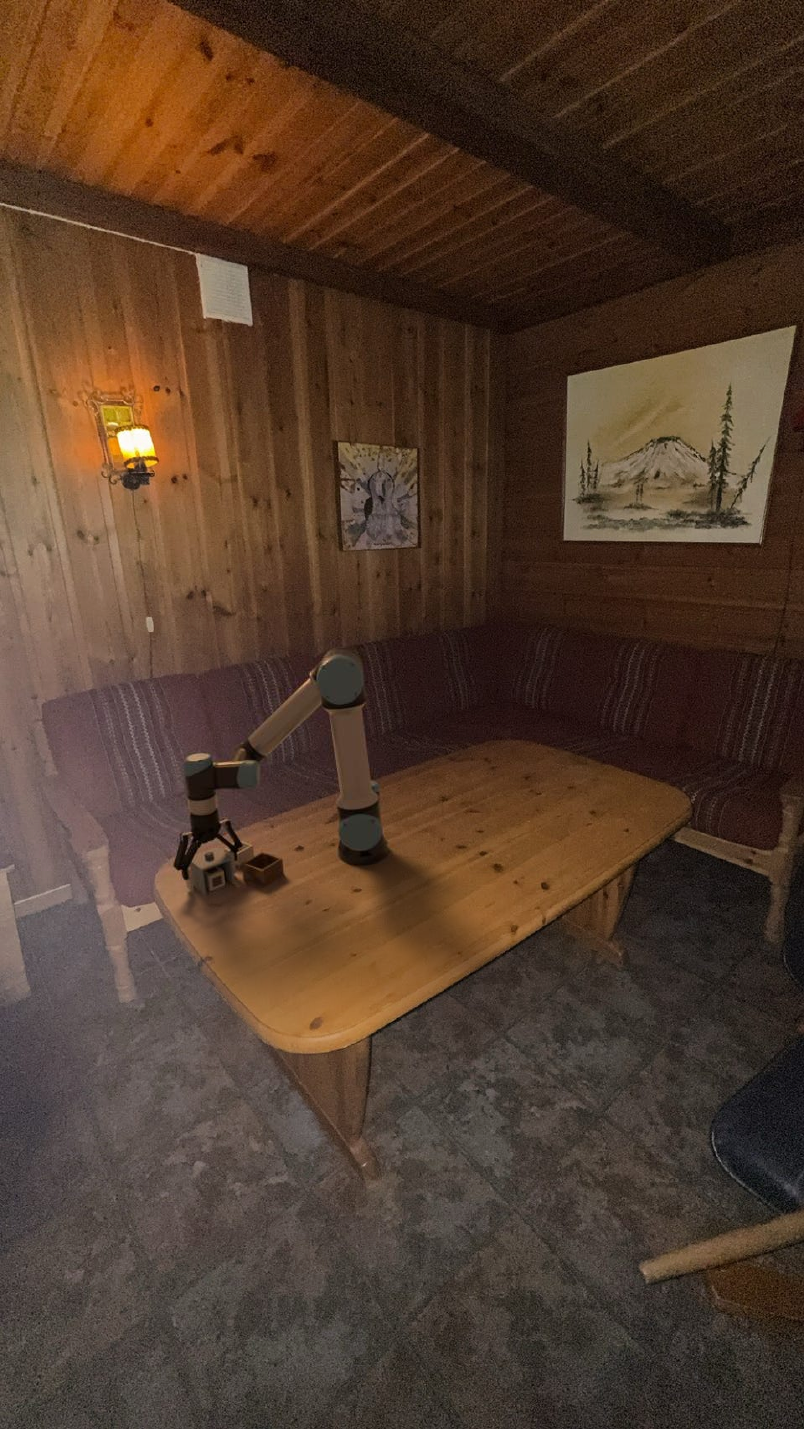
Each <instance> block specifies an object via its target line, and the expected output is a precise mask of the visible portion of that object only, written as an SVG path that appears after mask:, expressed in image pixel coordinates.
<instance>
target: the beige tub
mask: <svg viewBox="0 0 804 1429" xmlns="http://www.w3.org/2000/svg"><path fill="white" fill-rule="evenodd" d="M240 841H241V843H242V844H243V846H242V847H241V848H238V852H237V861H235V866H236V867H237V868H242V863H244V862H245V861H247V860H249V859H251V858H252V857H254V856H255V851H254V850H255V849H254V844H252V843H248V842H245V841H243V840H240ZM231 844H232V845H233V844H235V843H234V842H233V843H231ZM229 849H230V848H229V847H227V846H226V847H224V848H223V852H225V853H226V854H227V855H228V853H227V850H229Z"/></svg>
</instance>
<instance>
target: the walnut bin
mask: <svg viewBox="0 0 804 1429" xmlns="http://www.w3.org/2000/svg"><path fill="white" fill-rule="evenodd" d="M241 868H242V870H241V871H242V876H243V878H242V879H243V881H247V882H250V883H252V884H254V885H257V886H260V887H262V888H264V887H267V886H269V884H270V883H273V882H274V881H275V880H278V878H280V877H282V876H283V875H284V874H285V873H284V861H283V858H282V857H279V856H276V855H273V854H270V853H267V852H264V851H261V852H259V853H257V854H256V855H254V857H252V858H251V859H249V860H247V861H245V862H244V863H242V866H241Z"/></svg>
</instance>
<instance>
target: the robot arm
mask: <svg viewBox="0 0 804 1429" xmlns="http://www.w3.org/2000/svg"><path fill="white" fill-rule="evenodd" d="M366 695H367V694H366V686H365V675H364V665H363V661H362V658H361V657H360V655H359V654H358V653H357V652H356V651H355V650H353V649H351V648H350V647H345V646H341V647H335V648H334V647H333V648H332V649H330V650H329V651H327V652H326V653H325V654H324V655H323V657H322V659H321V660H320V661H319V662H318V663H317V664H316V666H315V667H313V668H312V670H311V671H309V678H308V679H307V680H306V681H304V683H303V684H302V685H300V686H299V688H297V689H296V691H295V692H294V693H292V695H290V696H289V697H288V699H286V701H284V702H283V703H282V704H281V705H280V706H279V707H278V708H277V709H276V710H275V711H274V712H273V713H272V714H271V715H270V716H269V717H268V718H267V719H266V720H265V721H263V723H262V724H261V725H260V726H259V727H257V729H256V730H255V731H254V732H252V733H251V734H250V736H248V738H247V739H245V740H244V741H243V742H241V743H239V744H238V745H237V747H236V748H235V749H234V750H233V753H232V755H231V757H230V758H229V760H228V761H214V759H213V756H212V755H211V754H210V753H203V752H201V753H200V752H199V753H194V754H190V755H188V756H186V757H185V759H184V760H183V777H184V784H185V788H186V797H187V805H188V812H189V814H188V815H189V821H190V827H191V828H190V831H188V832H180V834H179V840H180V841H179V844H178V847H177V851H176V855H175V857H174V858H175V859H174V862H173V866H172V867H173V868H175V869H176V871H180V872H181V877H182V879H183V880H184V881H186V888H187V889H188V890H189V891H190V892H193V891H194V890H195V888H194V886H193V880H192V872H191V868H189V866H190V864H191V862H192V860H193V858H194V856H195V855H196V853H197V852H198V850H199V849H200V848H201V846H202V845H203V844H206V843H209V842H212V841H215V839H217V840H219V841H220V842H221V843H222V844H224V845H225V846H226V847H229V848H230V849H229V850H227V853H228V855H229V856H230V857H231V858H232V863H233V872H234V874H237V868H236V867H237V866H235V861H237V852H238V848H241V847H242V846H243V844H242V843H241V841H242V840H241V839H240V838H239V836H238V835H237V834H236V832H235V830H234V829H233V828H232V827H233V826H232V822H231V820H229V819H228V818H227V817H224V818H223V819H222V820H221V821H220V815H219V813H220V812H219V809H218V807H219V805H218V798H217V797H218V796H217V791H220V790H221V791H222V790H249V789H256V788H258V787H259V785H260V783H261V767H260V766H261V765H260V764H261V763H262V762H263V761H264V760H265V759H266V758H267V757H268V756H269V755H270V753H272V752H273V751H274V750H275V749H276V748H277V747H278V746H279V745H280V744H281V743H282V742H283V741H284V740H286V738H287V737H288V736H290V735H291V734H292V733H293V732H294V731H295V730H296V729H297V728H298V727H299V726H300V725H301V724H302V723H303V722H305V720H307V719H308V717H310V716H311V715H312V714H313V713H314V712H315V711H316V710H317V709H318V708H320V706H321V707H322V709H323V710H324V711H326V712H327V713H328V714H329V715H328V716H329V722H330V723H329V724H330V727H331V728H330V729H331V737H332V744H333V749H334V750H333V751H334V758H335V763H336V770H337V772H336V773H337V778H338V786H339V791H340V792H339V797H338V798H337V799H336V800H335V801H336V802H335V803H336V809H337V817H338V829H337V830H338V836H339V842H338V846H337V855H338V858H339V860H341V861H342V862H344V863H346V864H350V865H355V866H363V865H364V866H366V865H372V864H375V863H377V862H381V861H382V860H384V859H385V858H386V856H387V854H388V852H389V851H388V850H389V849H388V843H387V842H388V841H387V840H386V839H385V835H384V833H383V825H382V812H381V794H380V792H381V790H380V785H379V783H378V782H376V781H374V780H371V773H370V764H369V758H368V750H367V741H366V734H365V726H364V719H363V707H364V706H365V705H366V704H367V696H366ZM222 828H223V829H225V830H226V832H227V833H228V836H229V837H230V839H231V840H232V841H233V843H235V844H233V843H231V842H230V841H229V840H227V839H226V838H225V837H224V836H223V835H222V834H220V833H219V832H220V831H221V829H222ZM191 837H192V840H191ZM190 841H191V842H190ZM189 842H190V843H191V844H190V845H189ZM232 844H233V845H232Z"/></svg>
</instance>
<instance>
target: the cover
mask: <svg viewBox="0 0 804 1429" xmlns="http://www.w3.org/2000/svg"><path fill="white" fill-rule="evenodd" d="M214 866H218V867H219V868H221V869H222V870H223V871H224V878H226V880H228V881H229V882H230V883H231V884H233V885H235V875H234V872H233V863H232V858H231V857H230V856H229V855H227V854H226V853H225V852H224V850H222V849H221V848H220V847H217V846H215V847H213V848H210V849H207V850H205V851H201V852H198V853H197V854H195V856H194V858H193V860H192V862H191V864H190V866H189V868H191V872H192V880H193V887H195V889H197V890H198V892H200V893H201V894H202V895H203V896H204V897H205V896H207V890H206V887H205V881H204V874H203V871H204V870H206V869H209V868H212V867H214Z"/></svg>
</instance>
